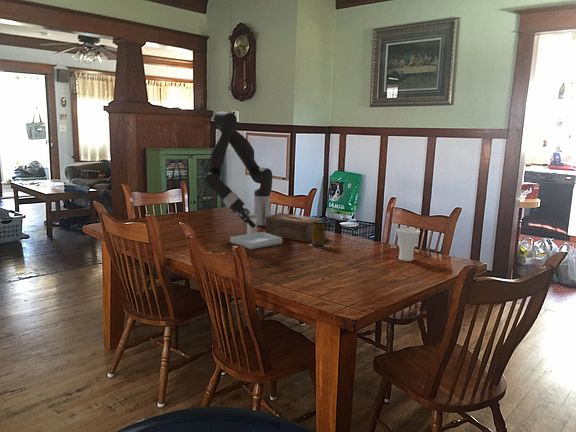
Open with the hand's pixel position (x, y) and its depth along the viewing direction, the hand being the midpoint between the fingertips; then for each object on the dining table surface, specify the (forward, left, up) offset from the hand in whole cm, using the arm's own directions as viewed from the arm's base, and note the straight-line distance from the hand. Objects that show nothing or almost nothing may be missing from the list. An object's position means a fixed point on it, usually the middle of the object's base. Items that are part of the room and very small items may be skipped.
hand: (255, 225), depth 263 cm
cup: (-25, +78, -5) cm, 82 cm away
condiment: (-11, +37, -5) cm, 39 cm away
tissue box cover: (-16, +13, -5) cm, 21 cm away
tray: (+11, +15, -5) cm, 19 cm away
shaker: (+1, -1, -5) cm, 5 cm away
